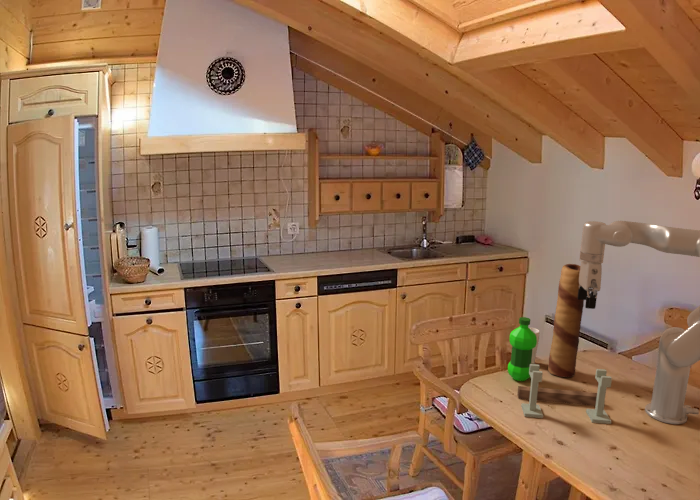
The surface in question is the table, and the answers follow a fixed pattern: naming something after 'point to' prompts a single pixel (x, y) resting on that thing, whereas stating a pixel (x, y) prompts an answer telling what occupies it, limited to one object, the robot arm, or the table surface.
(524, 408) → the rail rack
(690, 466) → the table surface
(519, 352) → the plastic bottle
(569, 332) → the wafer roll
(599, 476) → the table surface
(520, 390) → the walnut rail
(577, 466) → the table surface
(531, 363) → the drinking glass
